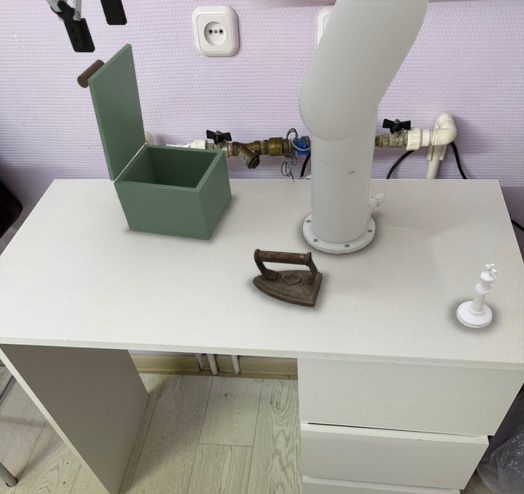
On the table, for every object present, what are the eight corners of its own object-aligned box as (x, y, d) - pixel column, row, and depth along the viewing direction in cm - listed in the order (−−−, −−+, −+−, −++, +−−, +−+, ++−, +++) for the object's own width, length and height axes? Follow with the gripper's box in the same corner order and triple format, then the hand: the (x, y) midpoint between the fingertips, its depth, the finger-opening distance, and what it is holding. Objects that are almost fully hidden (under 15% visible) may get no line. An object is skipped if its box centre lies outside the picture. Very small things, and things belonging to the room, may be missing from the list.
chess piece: (472, 333, 71) (491, 282, 63) (449, 311, 74) (464, 260, 66) (499, 319, 72) (521, 268, 64) (475, 299, 75) (493, 247, 67)
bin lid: (131, 44, 79) (102, 38, 79) (92, 80, 71) (60, 74, 72) (146, 142, 92) (121, 136, 93) (114, 181, 85) (87, 175, 85)
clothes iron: (319, 310, 77) (301, 265, 69) (253, 311, 82) (230, 270, 74) (327, 276, 80) (311, 230, 73) (263, 279, 85) (242, 236, 78)
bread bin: (232, 198, 97) (224, 150, 89) (209, 240, 89) (198, 192, 81) (158, 190, 101) (144, 143, 93) (130, 230, 93) (113, 183, 85)
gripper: (36, -111, 52) (95, 64, 65) (113, -142, 62) (150, 15, 75) (-21, -106, 54) (47, 62, 67) (62, -137, 64) (107, 15, 77)
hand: (102, 37), depth 71 cm, fingers open, 9 cm apart
